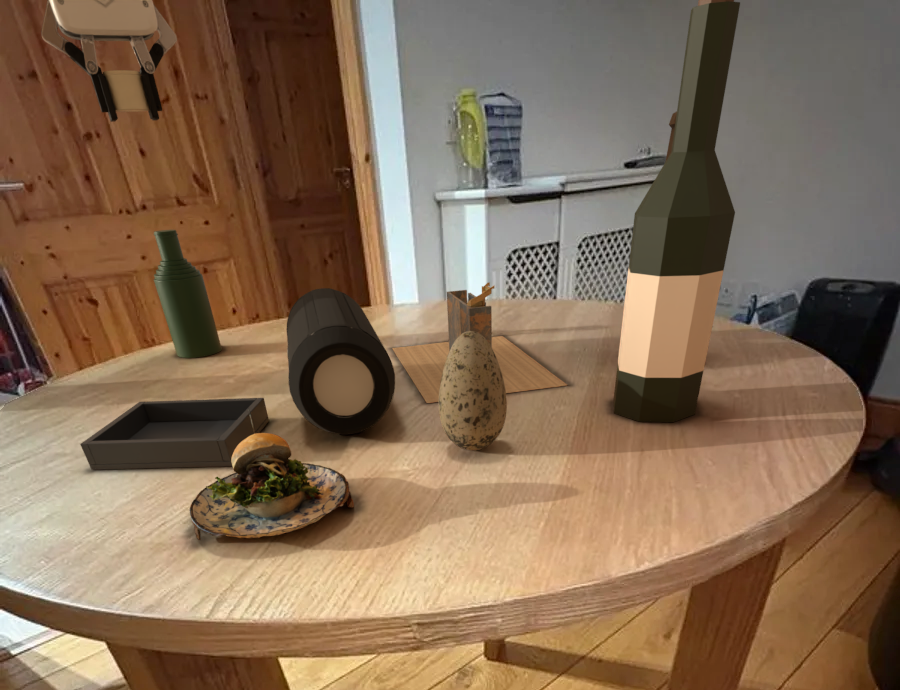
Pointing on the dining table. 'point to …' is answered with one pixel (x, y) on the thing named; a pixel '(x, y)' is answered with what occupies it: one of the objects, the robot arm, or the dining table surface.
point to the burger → (267, 492)
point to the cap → (127, 90)
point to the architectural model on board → (477, 317)
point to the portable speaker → (337, 363)
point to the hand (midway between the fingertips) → (134, 118)
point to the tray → (176, 434)
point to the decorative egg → (472, 393)
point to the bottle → (184, 300)
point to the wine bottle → (680, 240)
